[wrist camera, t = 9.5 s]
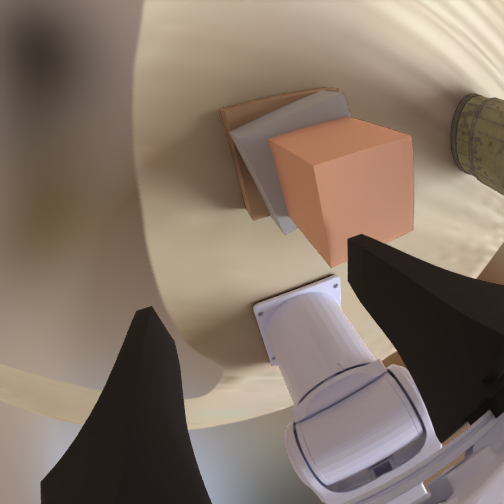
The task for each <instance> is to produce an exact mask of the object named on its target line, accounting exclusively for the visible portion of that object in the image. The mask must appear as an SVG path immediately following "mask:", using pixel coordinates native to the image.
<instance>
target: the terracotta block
mask: <svg viewBox="0 0 504 504" xmlns="http://www.w3.org/2000/svg"><path fill="white" fill-rule="evenodd" d="M268 141H269V144H270V148H271V151H272V155H273V159H274V162H275V166H276V170H277V173H278V177H279V181H280V184H281V188H282V192H283V196H284V200H285V204H286V208H287V211H288V215H289V217H290V219H291V220H292V221H293V222H294V223H295V225H296V226H297V227H298V228H299V229H300V231H301V232H302V233H303V234H304V235H305V237H306V238H307V239H308V240H309V241H310V243H311V244H312V245H313V246H314V248H315V249H316V250H317V251H318V252H319V254H320V255H321V256H322V257H323V259H324V260H325V261H326V262H327V264H328V265H329V266H330V267H331V268H332V267H335V266H337V265H339V264H341V263H344V262H346V261H348V248H347V239H348V238H351V237H354V236H356V235H359V234H364V235H366V236H369V237H371V238H373V239H376V240H378V241H380V242H382V243H385V244H386V243H388V242H390V241H392V240H394V239H396V238H398V237H400V236H403V235H405V234H407V233H409V232H411V231H413V228H414V166H413V147H412V136H410V135H407V134H404V133H401V132H398V131H395V130H392V129H389V128H386V127H382V126H379V125H376V124H373V123H369V122H366V121H362V120H358V119H355V118H351V117H347V116H346V117H342V118H338V119H334V120H331V121H327V122H323V123H319V124H316V125H312V126H309V127H305V128H302V129H298V130H295V131H291V132H288V133H285V134H282V135H278V136H275V137H272V138H269V139H268Z"/></svg>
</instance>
